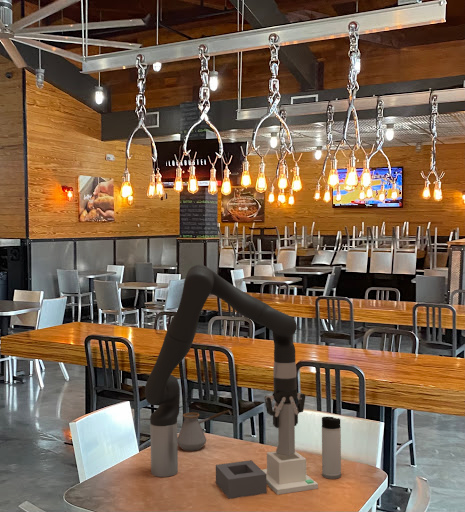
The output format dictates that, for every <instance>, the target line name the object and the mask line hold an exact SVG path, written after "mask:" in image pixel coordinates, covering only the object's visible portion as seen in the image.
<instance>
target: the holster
mask: <svg viewBox="0 0 465 512" xmlns="http://www.w3.org/2000/svg"><path fill="white" fill-rule="evenodd" d="M215 484H216V485H217V487H218V488H219V489H220V490H221V491H222V492H223V494H224V495H225V497H226V498H227V499H228V500H230V499H236V498H237V499H238V498H243V497H250V496H257V495H263V494H267V488H268V486H267V484H266V473H265V472H263V471H262V469H261V468H260V466H258V465H257V464H256V463H255V461H253V460H250V459H249V460H244V461H243V460H242V461H235V462H228V463H227V462H226V463H219V464H215Z"/></svg>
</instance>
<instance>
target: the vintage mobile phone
mask: <svg viewBox="0 0 465 512" xmlns="http://www.w3.org/2000/svg"><path fill="white" fill-rule="evenodd" d="M276 406H277V407H278V404H277V403H276ZM278 417H279V428H277V430H278V432H277V433H278V439H277V440H278V445H277V447H276V449H275V451H276V453H277V454H281V455H285V456H290V455H292V454H294V453H295V451H296V445H295V444H296V439H295V438H296V435H295V432H296V431H295V430H296V429H295V427H296V426H295V412H294V409H293V404H291V403H288V402H287V403H286V404H283V406H282V409H281V411H280V412H279V415H278Z"/></svg>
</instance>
